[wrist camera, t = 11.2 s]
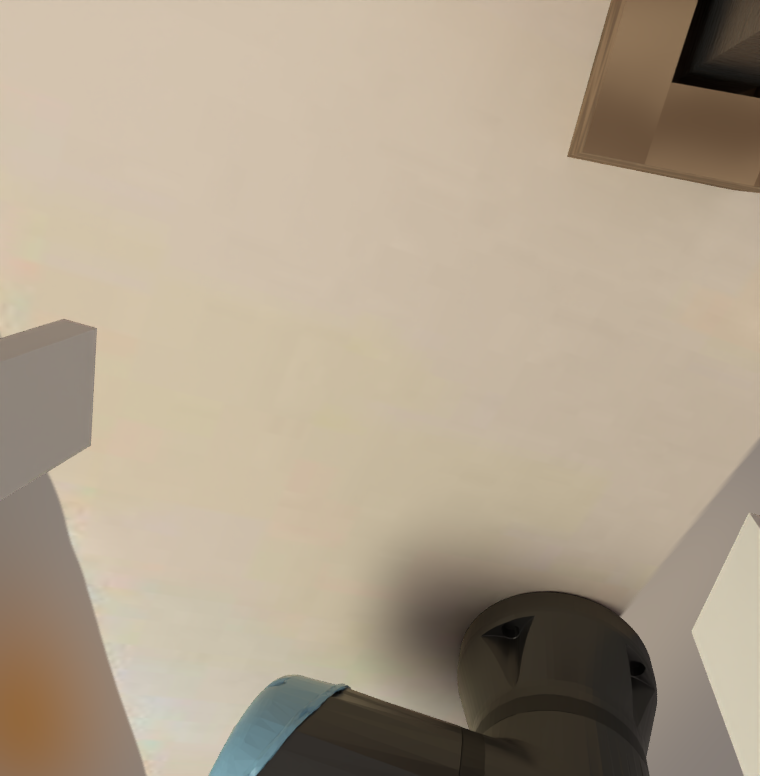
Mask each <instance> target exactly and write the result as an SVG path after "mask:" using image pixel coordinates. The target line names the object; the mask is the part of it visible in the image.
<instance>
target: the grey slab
mask: <svg viewBox="0 0 760 776" xmlns="http://www.w3.org/2000/svg"><path fill="white" fill-rule="evenodd" d="M672 82H673V83H678V84H684V85H689V86H695V87H700V88H706V89H711V90H717V91H722V92H728V93H733V94H739V93H742V92H745V91H747V90H750V89H753V88H756V87H759V86H760V0H699V1H698V4H697V7H696V10H695V13H694V16H693V19H692V22H691V25H690V28H689V31H688V35H687V38H686V41H685V44H684V47H683V50H682V53H681V56H680V59H679V62H678V65H677V68H676V71H675V74H674V78H673V81H672Z"/></svg>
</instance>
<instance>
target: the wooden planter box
mask: <svg viewBox="0 0 760 776" xmlns="http://www.w3.org/2000/svg"><path fill="white" fill-rule="evenodd" d="M698 1H699V0H611V3H610V7H609V10H608V14H607V17H606V21H605V24H604V28H603V31H602V35H601V39H600V42H599V46H598V49H597V53H596V56H595V60H594V63H593V67H592V71H591V74H590V78H589V81H588V85H587V88H586V92H585V95H584V99H583V103H582V106H581V110H580V113H579V117H578V120H577V124H576V127H575V131H574V135H573V138H572V142H571V145H570V149H569V152H568V156H567V157H572V158H577V159H582V160H587V161H592V162H597V163H602V164H607V165H612V166H617V167H622V168H627V169H632V170H637V171H642V172H647V173H652V174H657V175H662V176H667V177H672V178H677V179H682V180H687V181H692V182H696V183H701V184H706V185H711V186H716V187H721V188H726V189H731V190H738V191H747V192H756V193H760V86H759V87H756V88H753V89H750V90H747V91H745V92H742V93H739V94H733V93H728V92H722V91H717V90H711V89H706V88H700V87H695V86H689V85H684V84H678V83H673V82H672V81H673V78H674V74H675V71H676V68H677V65H678V62H679V59H680V56H681V53H682V50H683V47H684V44H685V41H686V38H687V35H688V31H689V28H690V25H691V22H692V19H693V16H694V13H695V10H696V7H697V4H698Z"/></svg>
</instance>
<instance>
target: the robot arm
mask: <svg viewBox="0 0 760 776" xmlns="http://www.w3.org/2000/svg"><path fill="white" fill-rule="evenodd" d="M96 334H97V328H94V327H91V326H87V325H84V324H80V323H77V322H73V321H69V320H66V319H62V320H59V321H56V322H52V323H49V324H46V325H43V326H39V327H36V328H33V329H29V330H26V331H23V332H20V333H16V334H13V335H10V336H6V337H3V338H0V501H1V500H3V499H4V498H6V497H7V496H9V495H11V494H12V493H14V492H15V491H17V490H19V489H20V488H22V487H24V486H25V485H27V484H29V483H30V482H32V481H33V480H35V479H37V478H38V477H40V476H42V475H43V474H45V473H47V472H48V471H50V470H51V469H53V468H55V467H56V466H58V465H60V464H61V463H63V462H64V461H66V460H68V459H69V458H71V457H73V456H74V455H76V454H77V453H79V452H81V451H82V450H84V449H86V448H87V447H89V446H90V445H91V431H92V412H93V392H94V373H95V353H96ZM691 632H692V635H693V638H694V640H695V643H696V646H697V649H698V651H699V654H700V657H701V660H702V662H703V665H704V668H705V670H706V673H707V676H708V679H709V681H710V684H711V686H712V690H713V692H714V695H715V697H716V701H717V703H718V706H719V709H720V712H721V714H722V717H723V719H724V722H725V725H726V728H727V731H728V733H729V736H730V739H731V742H732V744H733V747H734V750H735V752H736V755H737V758H738V761H739V763H740V766H741V769H742V772H743V774H744V776H760V515H756V514H753V513H749V514H748V516H747V518H746V520H745V522H744V524H743V526H742V528H741V531H740V533H739V534H738V537H737V539H736V541H735V543H734V545H733V547H732V549H731V551H730V553H729V555H728V557H727V559H726V561H725V563H724V565H723V567H722V569H721V572H720V574H719V576H718V578H717V580H716V582H715V584H714V586H713V588H712V590H711V593H710V594H709V596H708V599H707V600H706V602H705V605H704V607H703V609H702V611H701V613H700V615H699V617H698V619H697V621H696V623H695V625H694V627H693V629H692V631H691ZM457 682H458V690H459V695H460V699H461V702H462V706H463V709H464V713H465V716H466V720H467V724H468V727H469V730H468V729H465V728H462V727H460V726H458V725H455V724H452V723H449V722H446V721H443V720H440V719H437V718H434V717H431V716H427V715H424V714H421V713H418V712H415V711H412V710H409V709H406V708H403V707H400V706H397V705H394V704H391V703H388V702H385V701H382V700H380V699H377V698H374V697H371V696H368V695H365V694H363V693H360V692H357V691H354V690H351V687H349V686H348V685H345V684H338V685H335V684H331V683H327V682H323V681H319V680H315V679H311V678H308V677H304V676H301V675H287V676H283V677H281V678H279V679H277V680H275V681H273V682H272V683H271V684H269V685H268V686H267V687H266V688H265V689H264V690H263V691H262V692H261V693H260V694H259V695H258V696H257V697H256V698H255V700H254V701H253V702H252V703H251V705H250V706H249V707H248V709H247V710H246V711H245V713H244V714H243V716H242V717H241V719H240V720H239V722H238V723H237V725H236V727H235V728H234V730H233V731H232V733H231V735H230V736H229V738H228V740H227V742H226V744H225V745H224V747H223V749H222V751H221V752H220V754H219V756H218V758H217V760H216V762H215V764H214V766H213V768H212V770H211V772H210V774H209V776H649V771H648V766H647V761H646V755H647V750H648V745H649V741H650V736H651V730H652V726H653V721H654V716H655V711H656V706H657V688H656V681H655V677H654V673H653V669H652V665H651V661H650V657H649V654H648V652H647V650H646V648H645V646H644V644H643V642H642V641H641V639H640V637H639V636H638V635H637V633H636V632H635V631H634V630H633V629H632V628H631V627H630V626H629V625H628V624H627V623H626V622H625V621H624V620H623V619H622V618H620V617H619V616H618V615H616V614H615V613H613V612H612V611H610V610H609V609H607V608H605V607H603V606H601V605H599V604H597V603H595V602H592V601H590V600H587V599H584V598H581V597H578V596H574V595H569V594H563V593H554V592H536V593H527V594H522V595H518V596H514V597H511V598H508V599H505V600H503V601H500V602H498V603H496V604H494V605H493V606H491V607H489V608H488V609H487V610H485V611H484V612H483V613H481V614H480V615H479V616H478V617H477V618H476V619H475V620H474V622H473V623H472V624H471V625H470V627H469V628H468V630H467V632H466V634H465V636H464V638H463V641H462V644H461V648H460V655H459V662H458V669H457Z"/></svg>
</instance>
